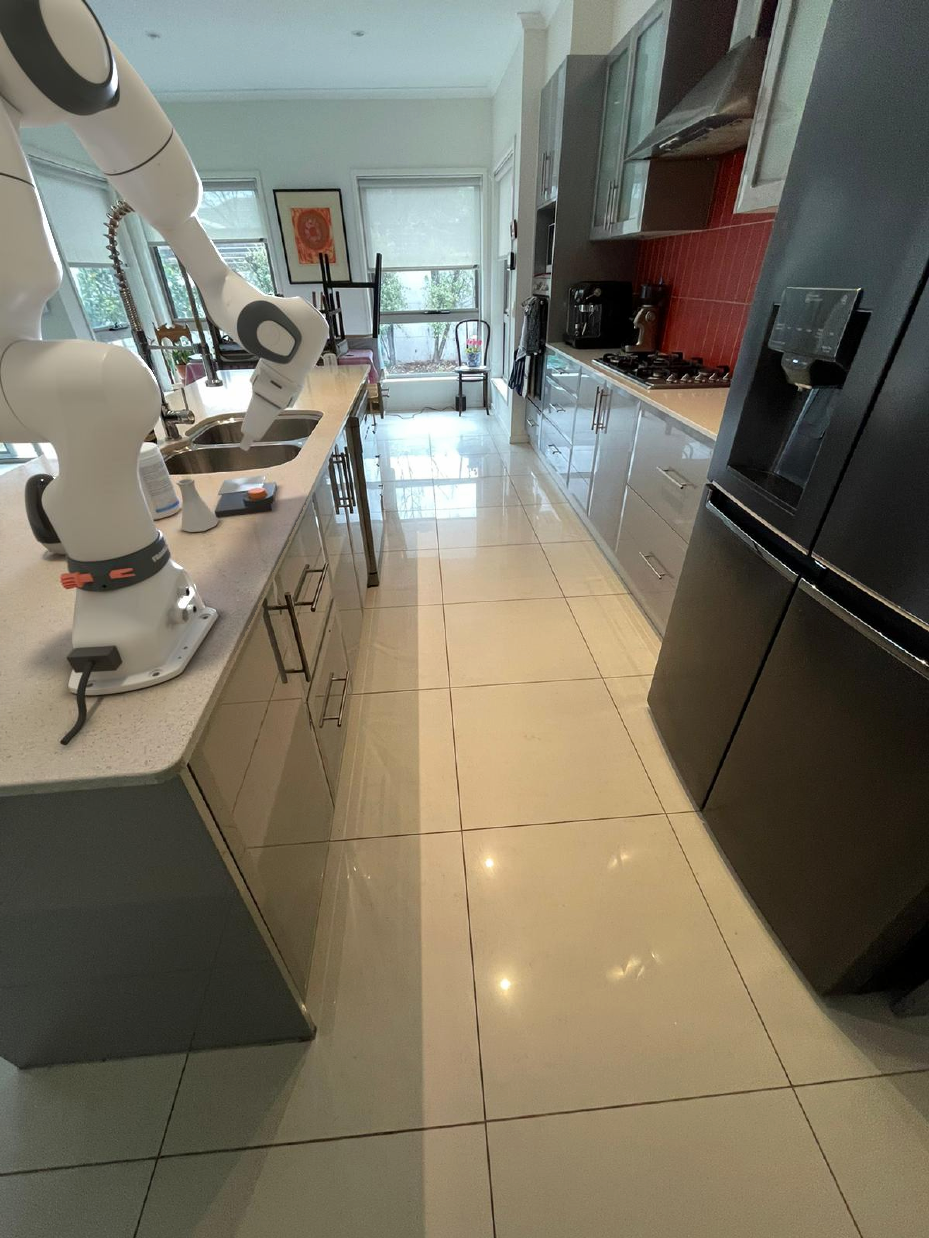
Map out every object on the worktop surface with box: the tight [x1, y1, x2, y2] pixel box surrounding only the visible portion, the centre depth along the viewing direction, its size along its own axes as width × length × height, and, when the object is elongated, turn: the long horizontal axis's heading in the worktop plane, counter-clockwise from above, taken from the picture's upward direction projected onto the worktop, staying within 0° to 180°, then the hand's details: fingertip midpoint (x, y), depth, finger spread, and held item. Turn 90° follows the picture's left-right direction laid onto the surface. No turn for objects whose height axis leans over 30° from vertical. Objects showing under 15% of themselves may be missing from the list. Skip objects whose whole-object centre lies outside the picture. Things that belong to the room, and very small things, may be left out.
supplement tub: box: [139, 441, 182, 521], centre depth 114 cm, size 10×10×15 cm
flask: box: [176, 477, 220, 533], centre depth 108 cm, size 7×7×10 cm
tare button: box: [248, 488, 267, 499], centre depth 116 cm, size 4×4×2 cm
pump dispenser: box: [24, 473, 67, 555], centre depth 99 cm, size 10×10×15 cm
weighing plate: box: [217, 475, 266, 496], centre depth 122 cm, size 10×10×1 cm
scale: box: [214, 481, 278, 518], centre depth 121 cm, size 16×13×3 cm
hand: (243, 448), depth 104 cm, fingers closed
